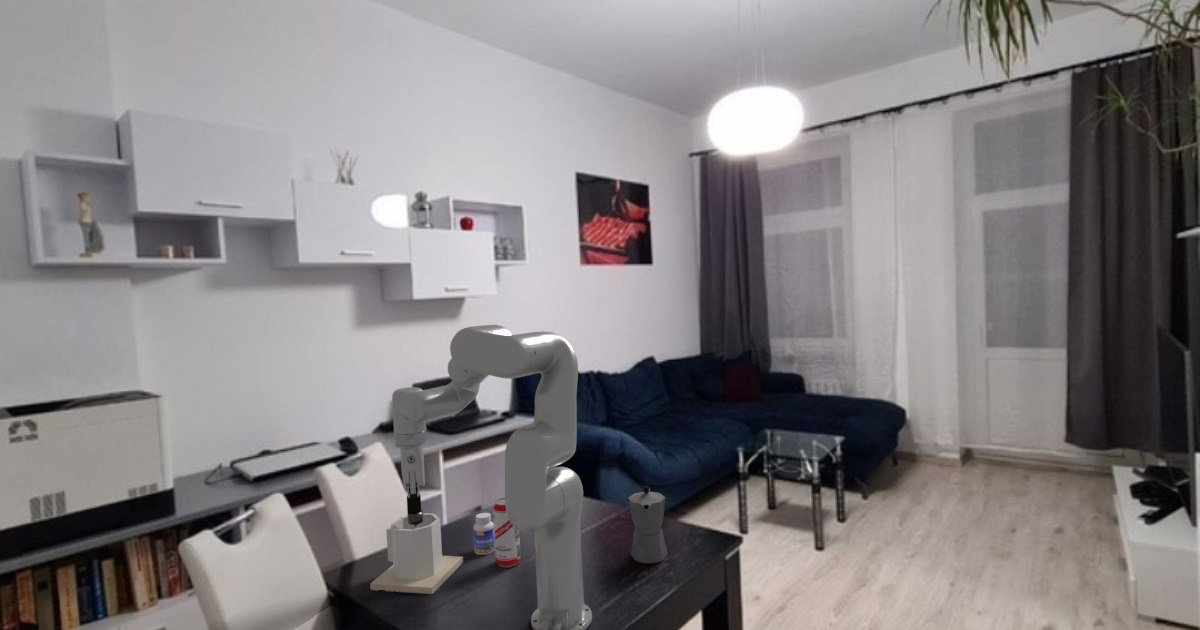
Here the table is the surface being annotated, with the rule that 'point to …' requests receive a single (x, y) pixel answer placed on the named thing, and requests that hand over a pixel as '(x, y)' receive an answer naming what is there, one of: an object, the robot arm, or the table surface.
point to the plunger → (415, 519)
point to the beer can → (505, 537)
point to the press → (416, 558)
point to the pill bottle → (484, 534)
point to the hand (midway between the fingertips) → (414, 512)
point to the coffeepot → (648, 526)
